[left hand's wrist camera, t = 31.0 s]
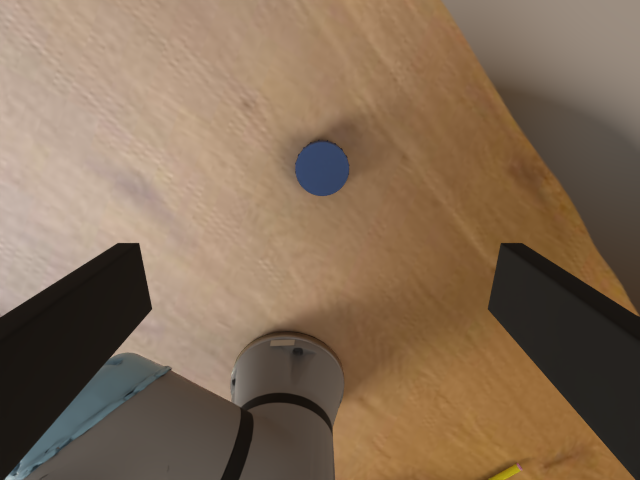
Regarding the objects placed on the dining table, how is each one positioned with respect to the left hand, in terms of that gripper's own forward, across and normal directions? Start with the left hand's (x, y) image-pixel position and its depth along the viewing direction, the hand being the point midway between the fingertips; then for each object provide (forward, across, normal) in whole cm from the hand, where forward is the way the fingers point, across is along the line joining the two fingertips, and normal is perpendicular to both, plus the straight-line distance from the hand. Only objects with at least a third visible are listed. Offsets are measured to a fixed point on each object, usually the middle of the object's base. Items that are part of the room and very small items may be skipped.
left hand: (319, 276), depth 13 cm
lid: (+24, 0, 0) cm, 25 cm away
